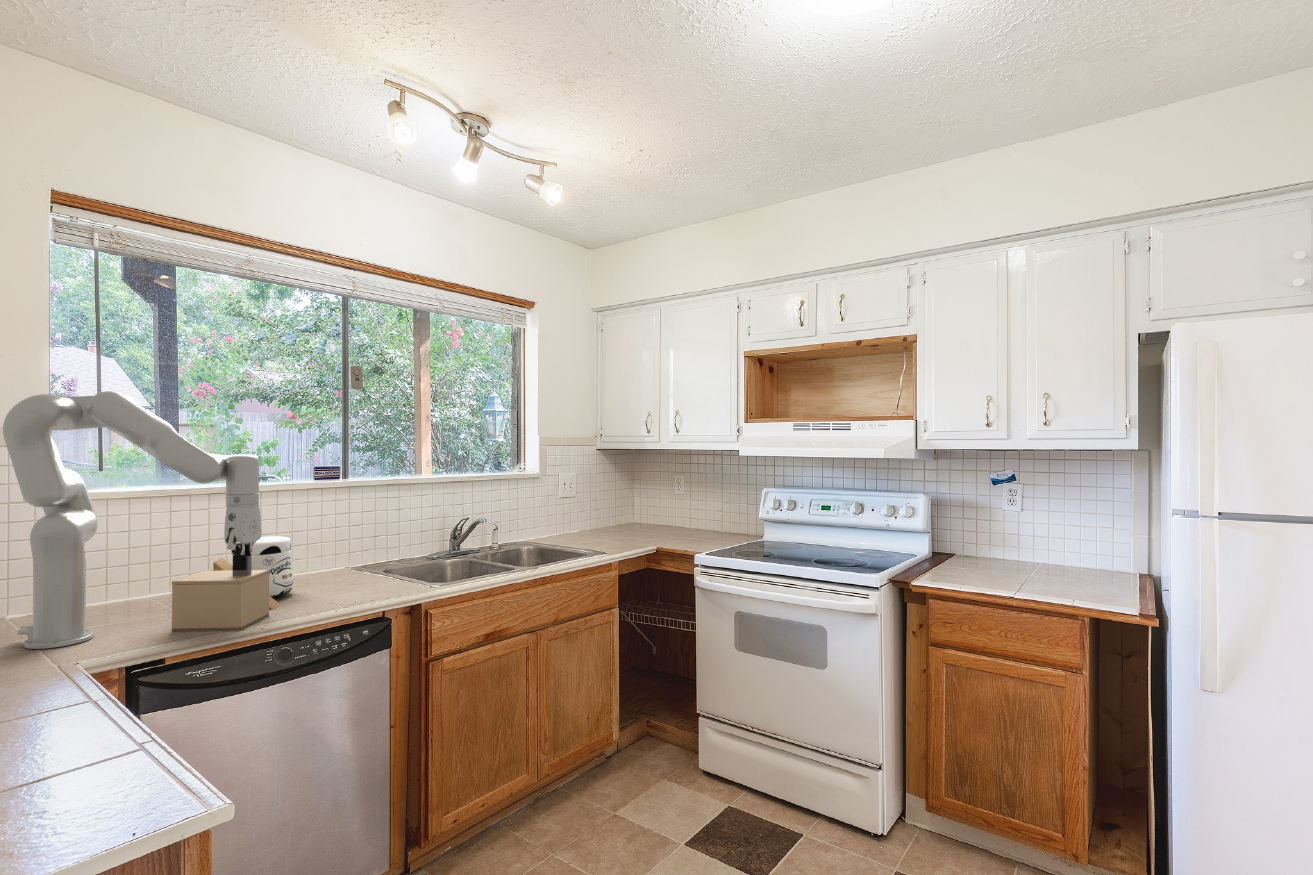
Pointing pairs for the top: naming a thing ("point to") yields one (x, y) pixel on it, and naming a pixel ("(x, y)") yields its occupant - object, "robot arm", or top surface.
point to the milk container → (274, 563)
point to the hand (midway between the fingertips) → (242, 568)
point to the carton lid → (223, 576)
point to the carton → (219, 605)
